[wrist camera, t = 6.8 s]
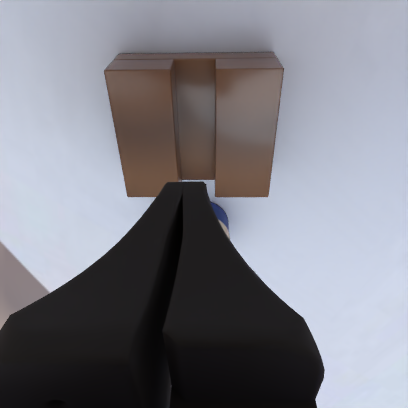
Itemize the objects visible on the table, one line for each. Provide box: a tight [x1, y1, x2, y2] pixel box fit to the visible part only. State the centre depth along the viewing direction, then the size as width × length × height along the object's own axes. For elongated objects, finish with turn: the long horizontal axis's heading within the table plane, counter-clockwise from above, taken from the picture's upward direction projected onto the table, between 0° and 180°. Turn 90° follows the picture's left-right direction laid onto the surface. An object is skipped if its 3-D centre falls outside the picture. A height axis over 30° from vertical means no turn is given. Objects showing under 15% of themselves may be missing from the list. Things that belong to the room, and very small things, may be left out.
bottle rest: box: [104, 52, 284, 197], centre depth 18 cm, size 7×8×3 cm
